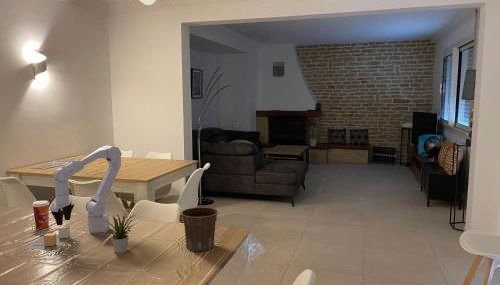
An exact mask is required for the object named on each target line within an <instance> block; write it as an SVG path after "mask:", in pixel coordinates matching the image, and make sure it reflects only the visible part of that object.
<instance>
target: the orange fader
mask: <svg viewBox="0 0 500 285" xmlns="http://www.w3.org/2000/svg"><path fill="white" fill-rule="evenodd" d="M56 235H57V233H53V232H52V233H50V232H49V233H48V232H47V233H45V234H44V235H43V236H44V246H54V245H56V244H57V243H56Z"/></svg>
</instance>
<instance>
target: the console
mask: <svg viewBox="0 0 500 285" xmlns="http://www.w3.org/2000/svg"><path fill="white" fill-rule="evenodd" d="M75 235H76V234H75V233H73V234H71V233H70V237H68V238H59V234H56V243H57V244H56V245H54V246H44V235H43V236H42V237H40V238H38V239H37V240H35V241H33V242H32V243H31V244H29V245H27V246H26V247H24V250H57V249H58V248H60V247H61V246H62V245H64V244H65V243H66V242H67V241H69V239H72V238H73V236H75Z"/></svg>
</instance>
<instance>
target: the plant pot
mask: <svg viewBox="0 0 500 285" xmlns="http://www.w3.org/2000/svg"><path fill="white" fill-rule="evenodd" d="M180 214H181V216H182V221H183V226H184V234H185V246H186V248H187V250H188V251H191V252H200V251H202V252H205V251H210V250H211V249H213V248H214V247H215V234H216V222H217V217H218V214H219V210H217V209H216V208H213V207H207V206H205V207H204V206H201V207H200V206H199V207H197V206H196V207H190V208H186V209H184V210H182V211H181V213H180Z"/></svg>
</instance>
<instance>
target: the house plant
mask: <svg viewBox="0 0 500 285" xmlns="http://www.w3.org/2000/svg"><path fill="white" fill-rule="evenodd" d="M135 216H136V214H134V215H131V216H129V217H128V218H127V219H126V213H125V214H124V215H123V217H122V219H121V217H120V216H119V215H118V214H116V217H115V215H112V220H113V222H114V223H113V224H114V225H113V224H111V223H110V221H109V222H108V223H109V226H111V227H112V229H111V227H110V228H108V230H107V231H106V233H108V234H111V235H112V237H111V242H112V246H113V251H114V253H117V254H118V253H119V254H120V253H121V254H122V253H125V252H126V251H128V243H129V233H131V231H132V230H131V228H132V229H133V226H134V224H132V225H131V226H130V224H131V223H132V221H133V222H134V221H135V220H136V218H135V219H131V218H133V217H135ZM125 220H126V221H125ZM103 221H104V220H103ZM106 222H107V221H106Z"/></svg>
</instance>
